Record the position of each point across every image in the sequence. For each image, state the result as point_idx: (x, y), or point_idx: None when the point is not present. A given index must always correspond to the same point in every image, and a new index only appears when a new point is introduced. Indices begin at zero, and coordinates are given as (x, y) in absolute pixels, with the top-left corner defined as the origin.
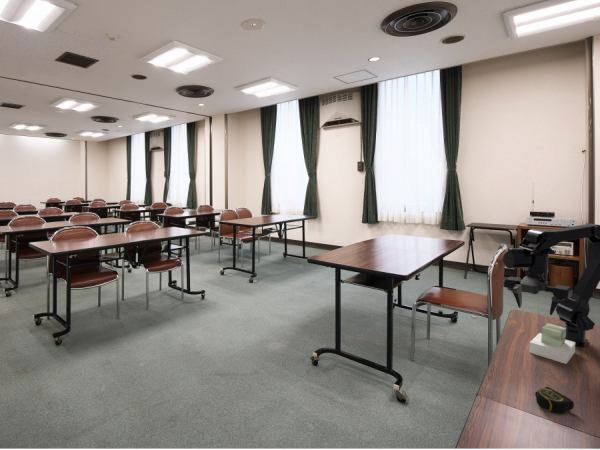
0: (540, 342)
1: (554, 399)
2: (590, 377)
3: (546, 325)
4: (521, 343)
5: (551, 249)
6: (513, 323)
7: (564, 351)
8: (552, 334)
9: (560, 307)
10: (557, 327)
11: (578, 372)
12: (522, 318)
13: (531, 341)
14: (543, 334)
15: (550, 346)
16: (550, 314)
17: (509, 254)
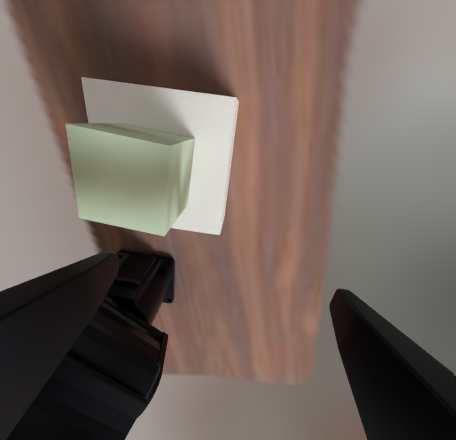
0: (196, 128)
1: None
2: (20, 13)
3: (160, 198)
4: (274, 171)
5: None
6: (310, 312)
7: (94, 89)
8: (123, 132)
9: (126, 386)
10: (109, 203)
11: (61, 30)
12: (288, 350)
13: (231, 112)
14: (175, 140)
15: (152, 108)
16: (106, 252)
17: None
